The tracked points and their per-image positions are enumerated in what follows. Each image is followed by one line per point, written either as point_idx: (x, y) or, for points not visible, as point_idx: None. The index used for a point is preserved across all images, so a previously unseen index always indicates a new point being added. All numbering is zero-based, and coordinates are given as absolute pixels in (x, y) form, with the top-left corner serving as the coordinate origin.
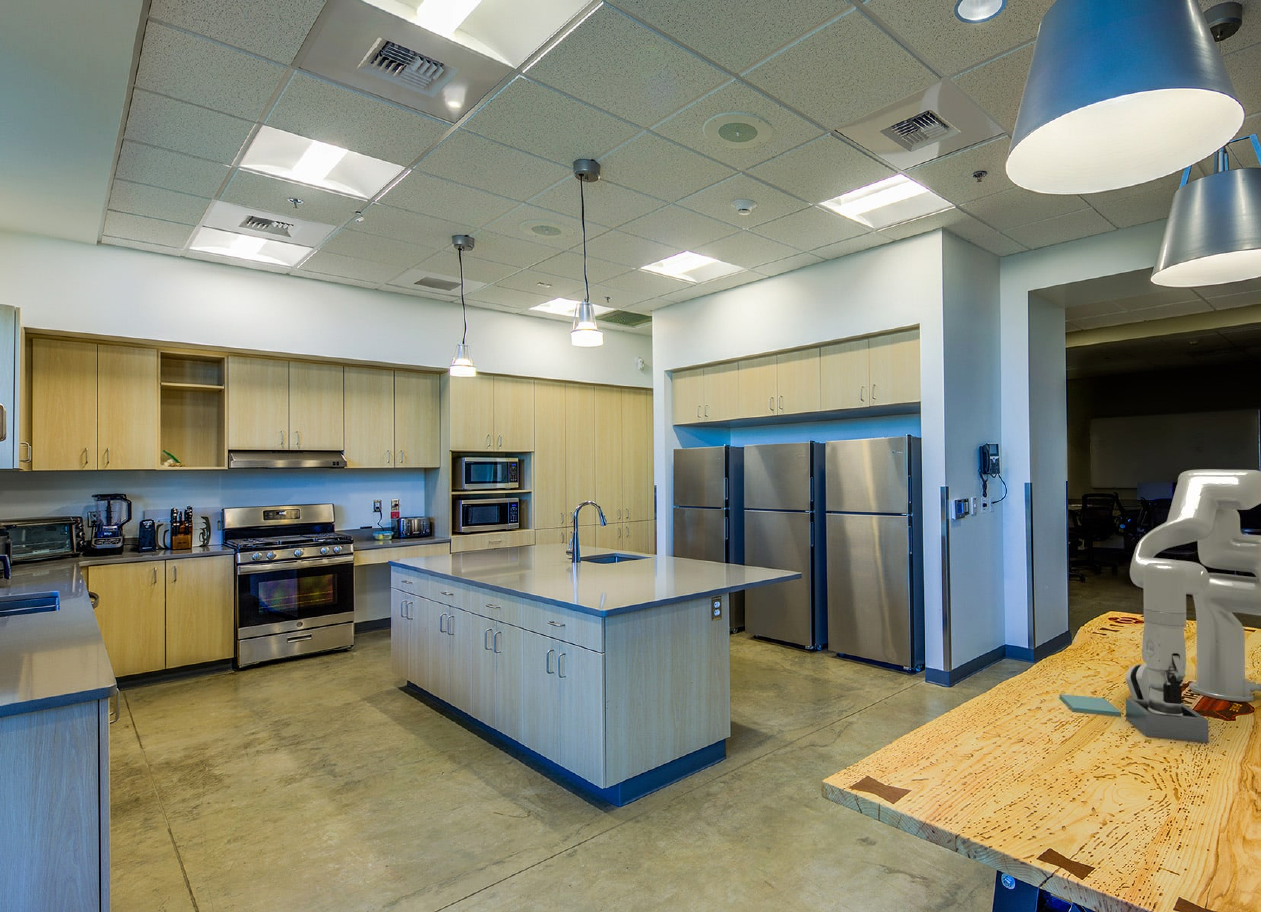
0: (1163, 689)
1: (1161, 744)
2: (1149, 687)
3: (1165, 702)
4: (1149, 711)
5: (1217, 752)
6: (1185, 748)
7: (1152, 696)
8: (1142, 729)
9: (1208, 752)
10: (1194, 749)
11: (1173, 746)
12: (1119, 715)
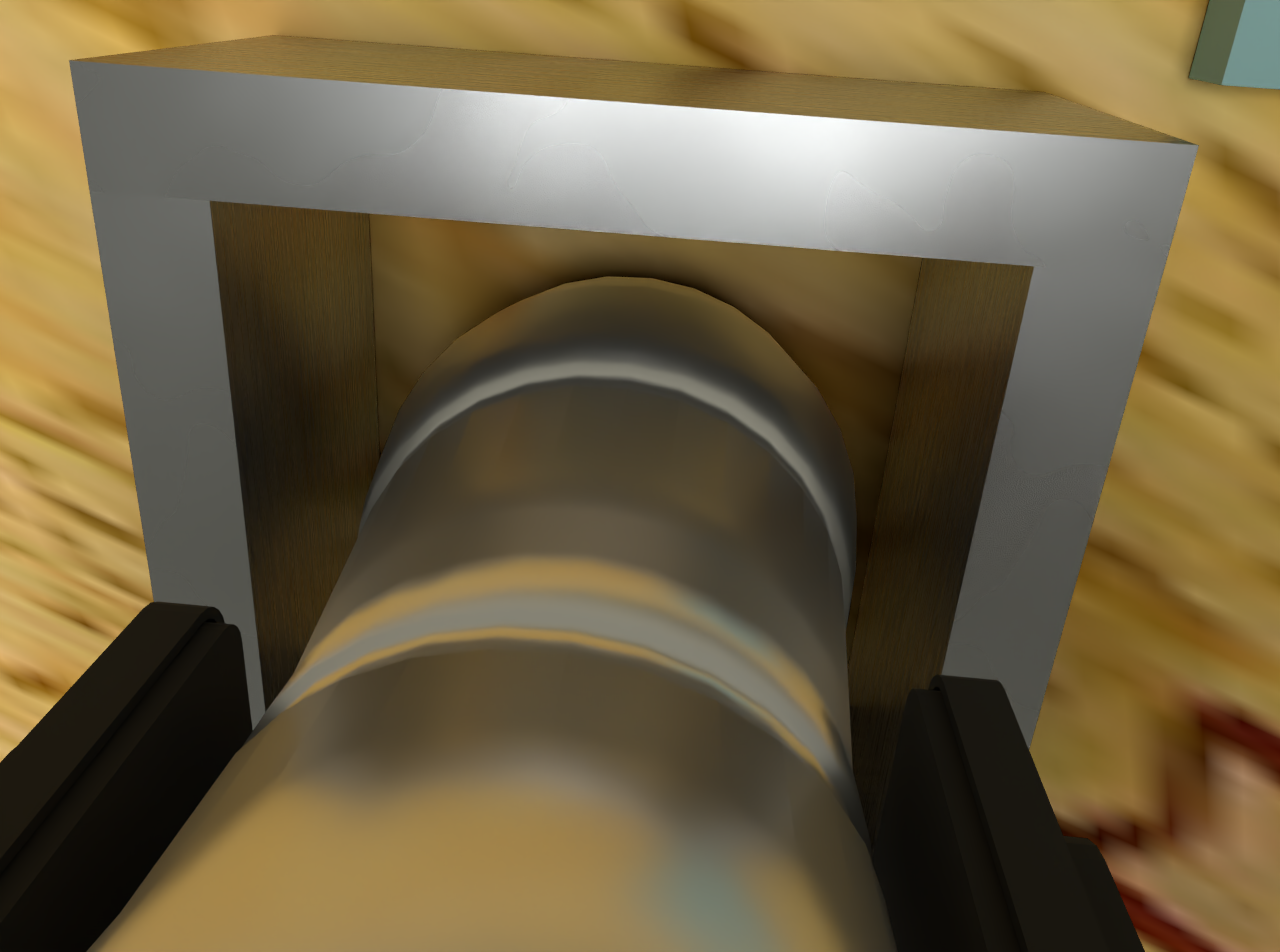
0: (12, 813)
1: (36, 123)
2: (1014, 742)
3: (156, 606)
4: (590, 339)
5: (69, 657)
6: (30, 376)
7: (497, 524)
8: (381, 50)
9: (19, 568)
10: (47, 466)
11: (32, 257)
12: (1207, 51)
